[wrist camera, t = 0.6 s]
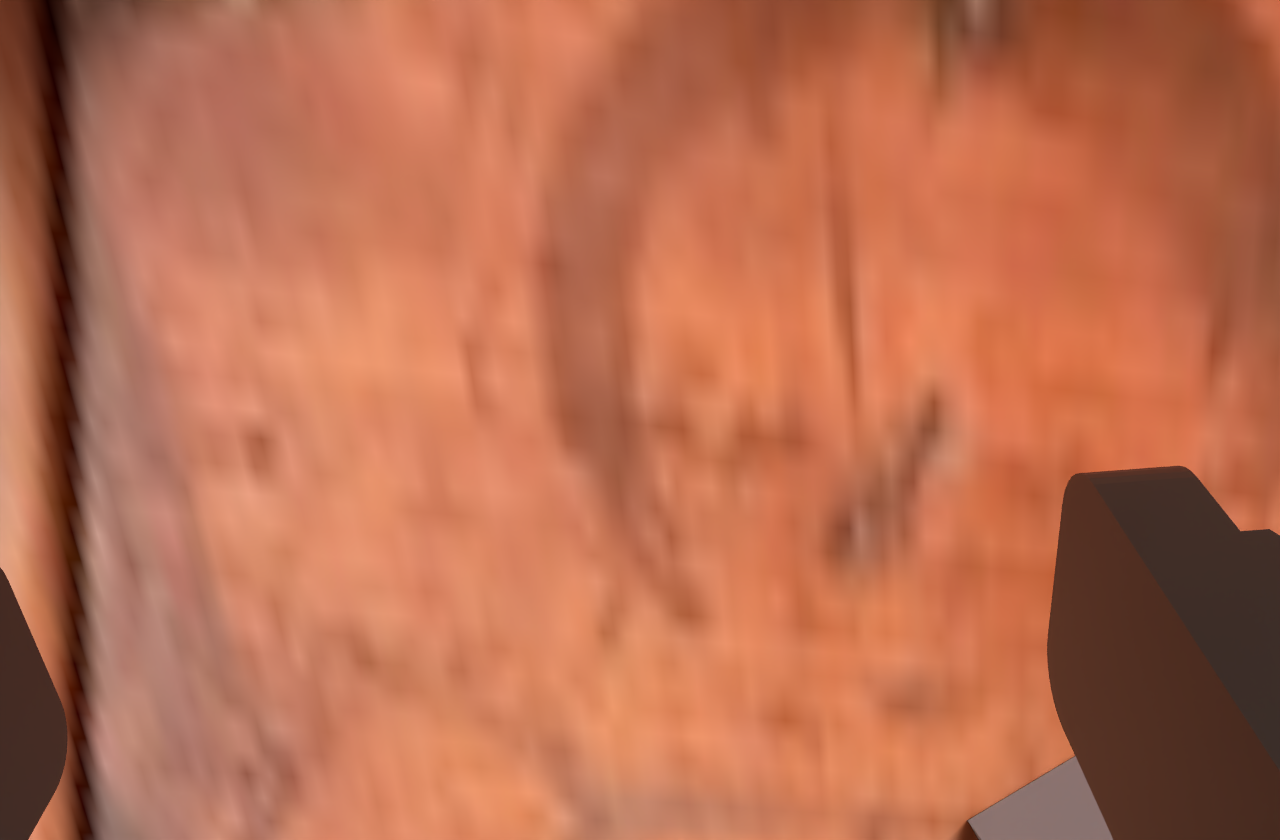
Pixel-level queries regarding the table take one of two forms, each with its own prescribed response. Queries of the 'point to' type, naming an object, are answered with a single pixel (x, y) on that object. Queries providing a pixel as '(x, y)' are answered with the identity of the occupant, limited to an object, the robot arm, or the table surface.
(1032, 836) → the slate plinth
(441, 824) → the table surface
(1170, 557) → the robot arm
